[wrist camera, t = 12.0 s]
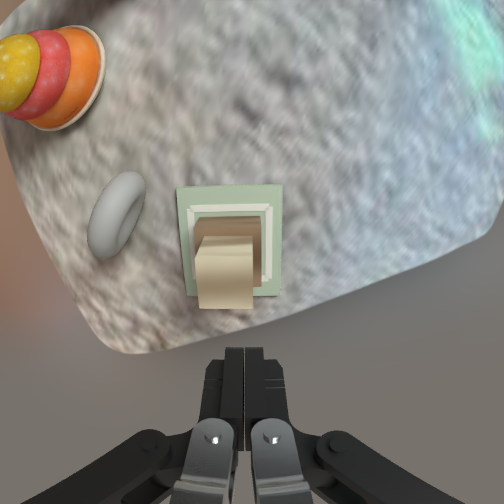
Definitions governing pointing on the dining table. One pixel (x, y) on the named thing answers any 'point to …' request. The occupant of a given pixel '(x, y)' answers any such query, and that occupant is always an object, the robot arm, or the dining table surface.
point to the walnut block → (233, 228)
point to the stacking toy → (51, 75)
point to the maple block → (225, 272)
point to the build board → (233, 204)
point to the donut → (115, 214)
